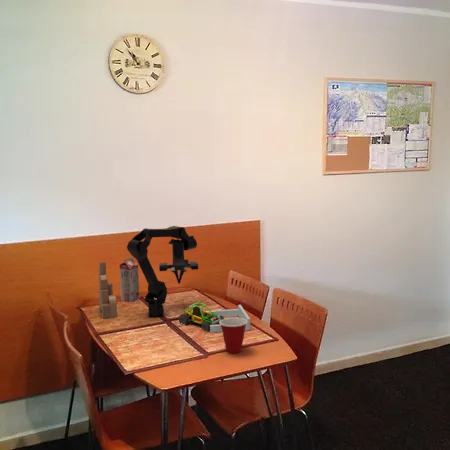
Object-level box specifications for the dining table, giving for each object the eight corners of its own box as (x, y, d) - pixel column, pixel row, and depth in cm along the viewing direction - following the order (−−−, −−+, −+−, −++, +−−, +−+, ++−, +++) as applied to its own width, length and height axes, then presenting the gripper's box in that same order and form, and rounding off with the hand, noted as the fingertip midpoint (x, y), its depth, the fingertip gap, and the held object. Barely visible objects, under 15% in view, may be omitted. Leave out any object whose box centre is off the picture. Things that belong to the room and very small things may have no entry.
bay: (210, 332, 203) (210, 321, 202) (204, 317, 221) (204, 307, 221) (250, 330, 206) (250, 318, 205) (240, 315, 224) (240, 304, 224)
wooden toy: (118, 317, 223) (115, 264, 219) (103, 319, 220) (100, 266, 216) (112, 307, 237) (110, 257, 233) (99, 308, 234) (96, 258, 231)
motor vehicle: (208, 333, 203) (208, 309, 202) (175, 323, 215) (174, 300, 213) (225, 325, 213) (225, 302, 211) (192, 316, 224) (191, 294, 222)
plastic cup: (239, 342, 192) (239, 314, 190) (252, 352, 183) (252, 322, 181) (214, 347, 187) (214, 318, 185) (227, 358, 178) (227, 327, 176)
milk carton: (139, 298, 250) (137, 257, 246) (130, 302, 244) (128, 260, 241) (129, 296, 253) (128, 256, 250) (120, 300, 248) (119, 258, 244)
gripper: (159, 256, 223) (160, 289, 225) (199, 254, 226) (199, 286, 228) (158, 251, 233) (159, 282, 236) (196, 250, 236) (197, 280, 239)
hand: (179, 283), depth 234 cm, fingers closed
